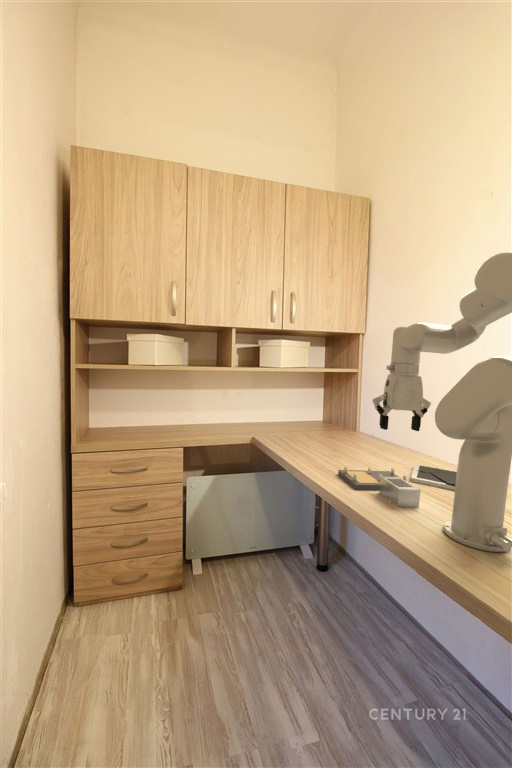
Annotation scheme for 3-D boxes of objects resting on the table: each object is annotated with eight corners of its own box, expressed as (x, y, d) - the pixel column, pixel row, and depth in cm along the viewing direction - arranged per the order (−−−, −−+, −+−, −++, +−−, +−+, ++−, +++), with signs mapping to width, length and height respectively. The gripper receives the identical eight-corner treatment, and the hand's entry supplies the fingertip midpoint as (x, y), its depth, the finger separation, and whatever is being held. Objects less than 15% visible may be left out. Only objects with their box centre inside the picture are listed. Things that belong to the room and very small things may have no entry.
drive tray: (413, 490, 106) (414, 479, 105) (356, 489, 103) (357, 478, 103) (389, 475, 119) (390, 465, 119) (338, 474, 117) (338, 464, 116)
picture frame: (465, 495, 107) (462, 477, 126) (466, 486, 107) (463, 470, 125) (410, 483, 115) (414, 469, 133) (410, 475, 114) (415, 461, 133)
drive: (418, 508, 93) (420, 489, 93) (397, 507, 92) (399, 488, 92) (398, 493, 103) (399, 476, 102) (379, 493, 102) (380, 476, 102)
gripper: (382, 368, 95) (377, 430, 96) (440, 372, 98) (435, 433, 98) (369, 368, 103) (365, 426, 104) (424, 372, 105) (419, 428, 106)
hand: (399, 429), depth 101 cm, fingers open, 9 cm apart
